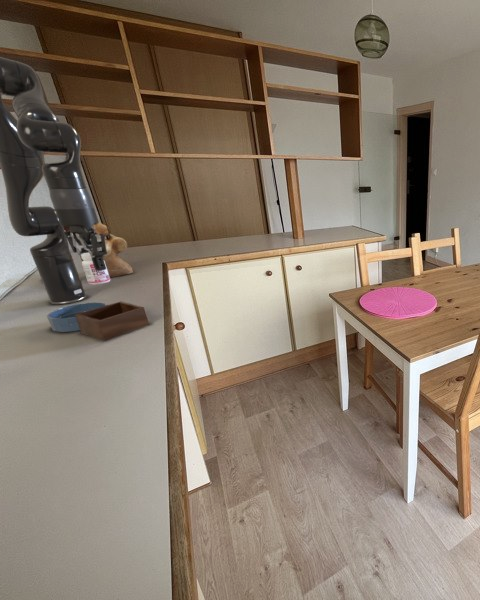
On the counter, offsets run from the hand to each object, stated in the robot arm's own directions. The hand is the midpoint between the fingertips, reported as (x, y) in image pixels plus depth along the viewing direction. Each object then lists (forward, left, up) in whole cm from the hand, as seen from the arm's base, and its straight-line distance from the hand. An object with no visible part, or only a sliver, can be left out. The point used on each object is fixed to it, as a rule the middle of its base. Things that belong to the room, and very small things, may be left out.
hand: (95, 268), depth 88 cm
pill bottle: (0, 0, -4) cm, 4 cm away
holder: (0, 0, -19) cm, 19 cm away
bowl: (-13, -2, -19) cm, 23 cm away
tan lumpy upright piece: (-65, +30, -19) cm, 74 cm away
